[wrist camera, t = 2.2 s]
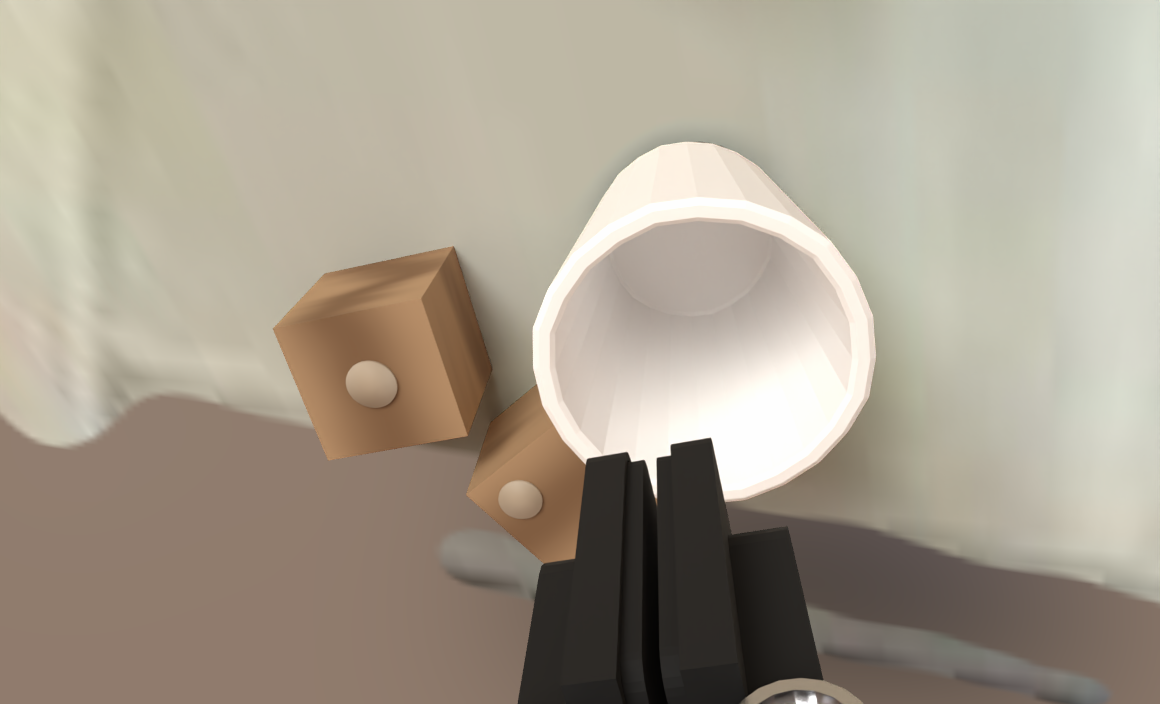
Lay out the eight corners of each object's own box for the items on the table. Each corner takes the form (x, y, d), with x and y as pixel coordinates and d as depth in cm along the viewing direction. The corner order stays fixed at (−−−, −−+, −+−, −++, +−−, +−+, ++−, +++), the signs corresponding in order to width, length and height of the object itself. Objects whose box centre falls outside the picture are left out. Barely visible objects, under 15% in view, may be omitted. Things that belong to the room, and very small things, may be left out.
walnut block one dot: (453, 245, 38) (420, 299, 33) (492, 368, 41) (466, 437, 35) (325, 273, 39) (271, 330, 34) (370, 390, 42) (327, 462, 36)
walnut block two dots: (671, 432, 42) (673, 511, 36) (578, 502, 44) (566, 586, 38) (583, 345, 40) (571, 413, 34) (490, 421, 42) (465, 497, 37)
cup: (841, 136, 35) (930, 239, 24) (771, 356, 39) (818, 534, 28) (593, 84, 35) (562, 163, 24) (550, 310, 39) (506, 470, 28)
